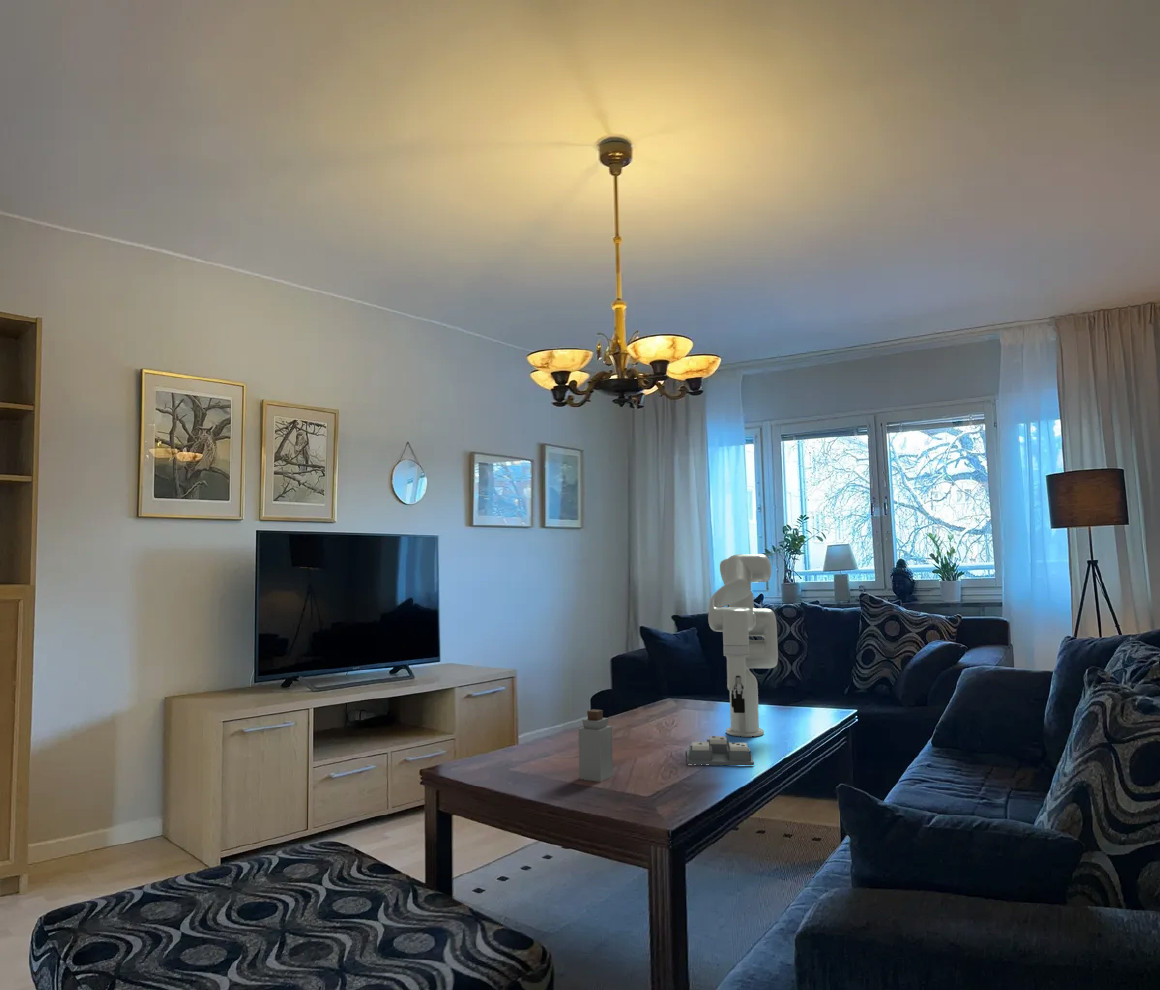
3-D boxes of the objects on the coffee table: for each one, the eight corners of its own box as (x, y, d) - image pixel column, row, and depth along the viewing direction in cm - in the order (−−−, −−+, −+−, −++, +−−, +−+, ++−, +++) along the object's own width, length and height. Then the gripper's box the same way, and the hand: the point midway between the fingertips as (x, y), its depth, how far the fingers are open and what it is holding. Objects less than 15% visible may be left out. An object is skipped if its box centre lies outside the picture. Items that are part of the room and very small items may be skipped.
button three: (729, 749, 235) (729, 742, 235) (746, 749, 234) (746, 742, 234) (730, 753, 230) (730, 745, 230) (747, 753, 229) (747, 746, 229)
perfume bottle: (591, 773, 222) (590, 707, 223) (612, 776, 218) (611, 709, 220) (579, 778, 216) (578, 711, 217) (600, 782, 212) (599, 713, 214)
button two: (709, 742, 244) (709, 735, 244) (725, 743, 243) (725, 735, 243) (710, 746, 239) (709, 739, 239) (726, 746, 238) (726, 739, 239)
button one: (691, 748, 236) (691, 741, 236) (708, 749, 236) (708, 741, 236) (692, 752, 231) (692, 745, 231) (709, 753, 231) (709, 745, 231)
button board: (686, 750, 246) (686, 738, 247) (748, 751, 244) (748, 739, 244) (687, 765, 229) (687, 751, 229) (754, 766, 226) (753, 752, 227)
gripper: (722, 648, 243) (723, 705, 242) (725, 653, 226) (726, 714, 224) (746, 648, 242) (748, 705, 241) (751, 653, 225) (753, 715, 224)
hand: (738, 709), depth 233 cm, fingers open, 9 cm apart
